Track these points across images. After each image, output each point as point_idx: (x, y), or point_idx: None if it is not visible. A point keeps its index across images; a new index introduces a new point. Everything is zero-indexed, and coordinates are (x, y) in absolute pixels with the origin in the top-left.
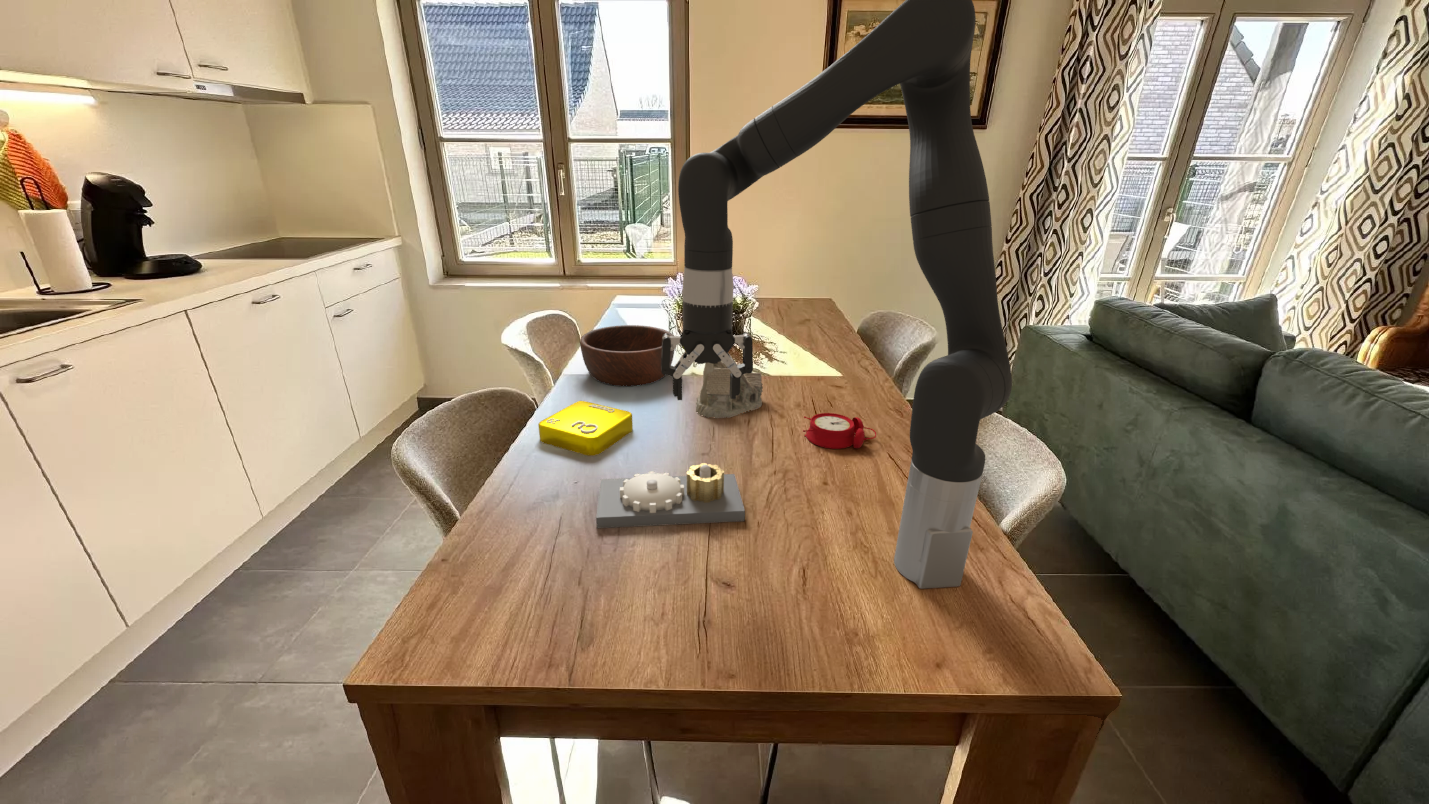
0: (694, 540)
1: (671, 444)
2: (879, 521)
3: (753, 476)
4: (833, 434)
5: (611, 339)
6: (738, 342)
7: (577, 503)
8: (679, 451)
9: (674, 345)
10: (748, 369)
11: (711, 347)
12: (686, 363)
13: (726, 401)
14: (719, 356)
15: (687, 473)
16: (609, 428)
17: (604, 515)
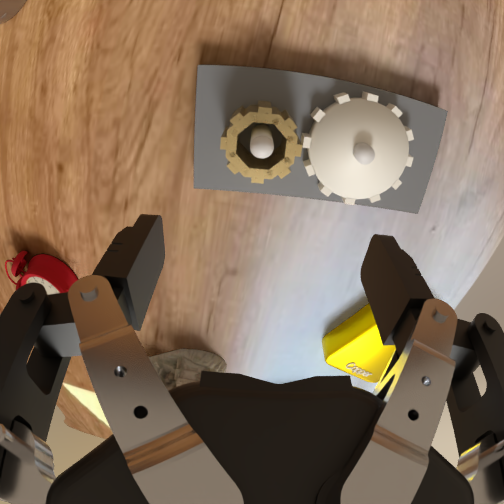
0: (301, 28)
1: (278, 302)
2: (17, 73)
3: (161, 197)
4: (41, 271)
5: None
6: (32, 475)
7: (446, 177)
8: (270, 284)
9: (485, 465)
10: (26, 296)
11: (248, 499)
12: (435, 366)
13: (183, 370)
14: (179, 416)
15: (300, 148)
16: (369, 329)
17: (437, 112)
